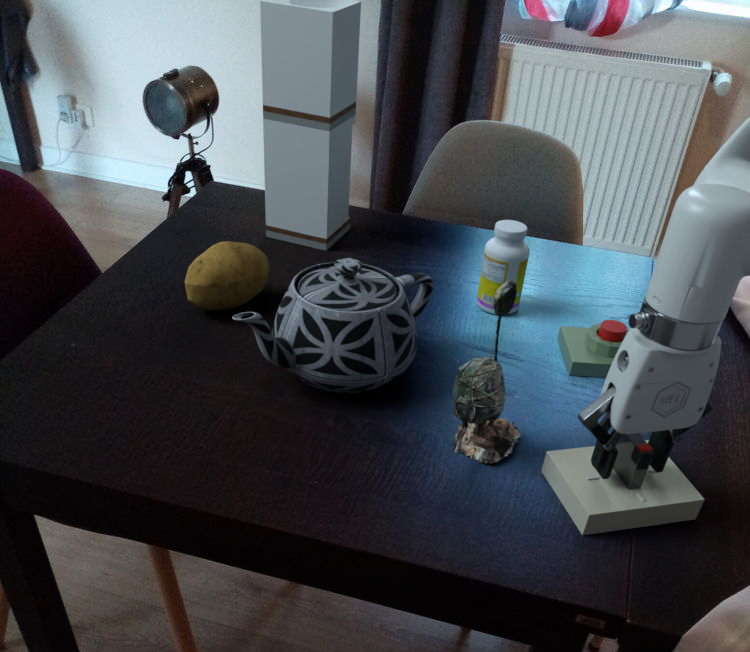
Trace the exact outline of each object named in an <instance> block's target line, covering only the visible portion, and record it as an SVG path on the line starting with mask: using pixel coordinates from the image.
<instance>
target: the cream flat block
mask: <svg viewBox="0 0 750 652" xmlns="http://www.w3.org/2000/svg"><path fill="white" fill-rule="evenodd" d="M644 440H645V441H646V442H647V444H648V441H649V439H644ZM594 448H595V445H592V446H581V447H572V448H564V449H563V448H562V449H554V450H546V452H545V456H544V459H543V463H542V467H541V473H542V475H543V476H544V478H545V480H546V481H547V482H548V484H549V485H550V487H551V489H552V490H553V492H554V493H555V495H556V497H557V498H558V500H559V502H560V503H561V505H562V506H563V508H564V509H565V511H566V512H567V514H568V515H569V517H570V519H571V520H572V522H573V523H574V525H575V526H576V528H577V529H578V531H579V533H580V534H581V536H588V535H594V534H601V533H603V534H604V533H609V532H615V531H623V530H630V529H637V528H645V527H652V526H659V525H665V524H674V523H679V522H687V521H693V520H694V521H695V520H697V517H698V515H699V513H700V510H701V509H702V506H703V504H704V502H705V498H704V497H703V495H702V494H701V493H700V492H699V491H698V490H697V488H696V487H695V486H694V484H692V482H691V481H690V480H689V479H688V478H687V477H686V475H685V474H684V473H683V472H682V470H680V468H679V467H678V466H677V464H675V462H674V461H673V460H672V459H671V457H670V456H669V457H668V460H667V462H666V464H665V467H664V469H663V471H662V472H656V471H654V469H653V468H652V467H651V466H650V465H649V468H648V471H647V473H646V476H645V478H644V481H643V483H642V486H641V488H634V489H628V488H627V487H626V485H625V484H624V483H623V481H622V480H621V479H620V477H619V476H618V475H617V473H616V472H615V471H614V469H612V472H611V475H610V477H609V478H608V479H602V477H601V476H600V475H599V473H598V472H597V471H596V469H595V468H594V467H593V465H592V463H591V457H592V454H593V451H594Z"/></svg>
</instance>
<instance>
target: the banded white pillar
mask: <svg viewBox="0 0 750 652" xmlns="http://www.w3.org/2000/svg"><path fill="white" fill-rule="evenodd" d="M259 9H260V11H259V12H260V45H261V50H260V51H261V86H262V87H261V88H262V91H261V92H262V125H263V126H262V128H263V129H262V131H263V167H264V168H263V170H264V206H265V207H264V208H265V211H264V212H265V237H267V238H270V239H274V240H279V241H283V242H286V243H287V242H288V243H292V244H296V245H299V246H304V247H309V248H312V249H318V250H321V251H325V252H327V251H328V250H329V249H330V248H331V247H332V246H333V245H334V244H335V243H337V242H338V241H339V240H340V239H341V238H342V237H343V236H344V235H345V234H346V233H348V231H350V230H351V223H352V222H351V219H352V218H351V217H350V216H349V212H350V189H351V171H352V170H351V167H352V150H353V149H352V147H353V146H352V144H353V126H354V125H355V124H356V118H357V117H356V115H357V96H358V94H357V93H358V78H359V77H358V76H359V75H358V74H359V56H360V35H361V33H360V32H361V14H362V13H361V11H362V1H361V0H289V3H285V2H280V1H279V2H278V1H272V0H259Z"/></svg>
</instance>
